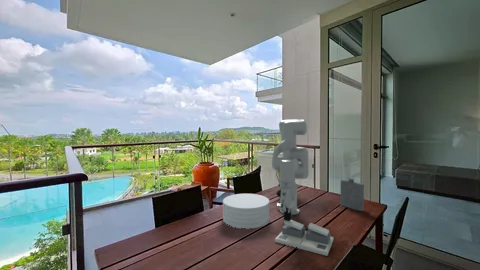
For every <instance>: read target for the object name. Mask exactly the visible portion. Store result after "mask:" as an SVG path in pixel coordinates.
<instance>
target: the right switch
mask: <svg viewBox="0 0 480 270" xmlns="http://www.w3.org/2000/svg"><path fill="white" fill-rule="evenodd" d="M307 229H311V230H313V231H315V232H318V233H320V234H322V235H325V236H327V235H328V233H330V229H327V228H325V227H323V226H322V227H321V225H317V224H315V223H312V222H310V223H309V224H308V225H307Z"/></svg>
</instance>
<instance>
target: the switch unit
mask: <svg viewBox="0 0 480 270" xmlns="http://www.w3.org/2000/svg"><path fill="white" fill-rule="evenodd" d="M307 229H308V228H307ZM334 238H335V237H334V236H331V232H329V233H328V235H327V236H325V235H322V234H320V233H318V232H315V231H313V230H311V229H308V230H306V227H305V226H304V227H303V229H302V230H299V229H296V228H294V227H292V226H289V225H287V224H285V223H284V225H283V226H282V227H281V232H279V234H278V235H277V236H276V237H275V238H274V243H277V244H282V245H284V244H285V246H288V245H289V246H288V247H292V246H293V248H296V247H297V248H296V249H300V250H304V251H308V252H311V253H315V254H319V255H323V256H326V257H327V256H329V252H330V250H331V247H332V245H333V243H334Z"/></svg>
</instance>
